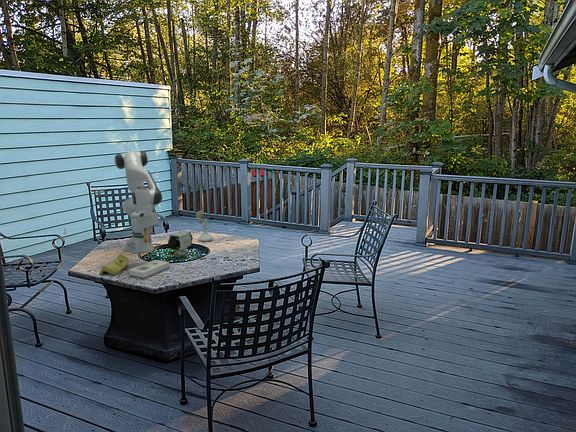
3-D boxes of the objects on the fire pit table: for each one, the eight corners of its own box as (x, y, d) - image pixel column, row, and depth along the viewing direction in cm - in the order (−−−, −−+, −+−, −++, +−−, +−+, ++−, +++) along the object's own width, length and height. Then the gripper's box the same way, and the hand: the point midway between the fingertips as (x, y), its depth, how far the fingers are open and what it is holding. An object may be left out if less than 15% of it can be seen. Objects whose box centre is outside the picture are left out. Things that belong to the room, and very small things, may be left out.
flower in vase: (208, 238, 346) (207, 207, 341) (215, 240, 338) (214, 209, 332) (193, 240, 338) (192, 209, 333) (200, 243, 329) (199, 211, 324)
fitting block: (143, 279, 253) (143, 272, 252) (129, 276, 259) (128, 269, 258) (169, 268, 273) (169, 262, 272) (155, 265, 278) (154, 259, 277)
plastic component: (116, 272, 260) (101, 264, 259) (113, 281, 262) (98, 274, 262) (132, 259, 278) (118, 253, 278) (128, 269, 281) (114, 262, 281)
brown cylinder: (142, 242, 269) (141, 227, 267) (147, 241, 272) (146, 225, 270) (147, 243, 267) (146, 227, 265) (152, 241, 271) (150, 226, 269)
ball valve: (178, 260, 288) (176, 235, 285) (168, 259, 292) (166, 233, 288) (195, 253, 304) (194, 229, 300) (185, 252, 308) (184, 228, 304)
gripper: (152, 209, 277) (154, 230, 279) (128, 215, 259) (130, 237, 261) (160, 209, 274) (162, 231, 276) (136, 215, 256) (138, 238, 258)
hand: (146, 234), depth 269 cm, fingers closed on brown cylinder, 4 cm apart
